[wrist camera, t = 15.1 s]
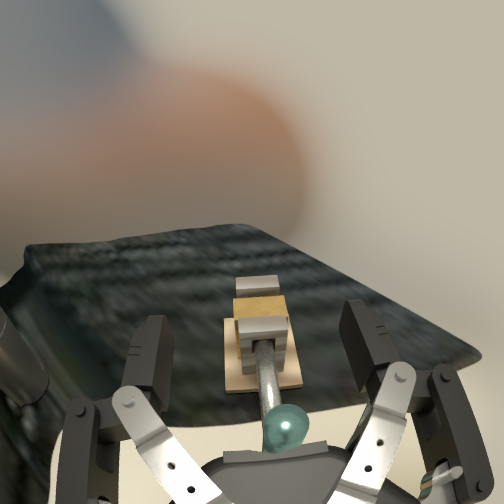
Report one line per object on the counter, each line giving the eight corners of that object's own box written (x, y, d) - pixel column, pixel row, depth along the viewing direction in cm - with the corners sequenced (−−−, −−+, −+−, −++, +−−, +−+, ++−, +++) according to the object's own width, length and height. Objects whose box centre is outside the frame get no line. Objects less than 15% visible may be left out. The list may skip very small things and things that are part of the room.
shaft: (291, 476, 26) (312, 440, 17) (262, 479, 25) (265, 445, 17) (274, 357, 40) (279, 276, 31) (251, 359, 40) (248, 278, 31)
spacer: (283, 356, 43) (288, 316, 38) (237, 359, 43) (234, 320, 38) (280, 336, 47) (283, 295, 41) (236, 339, 46) (233, 298, 41)
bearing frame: (302, 387, 40) (312, 343, 33) (226, 393, 39) (218, 350, 33) (287, 317, 51) (292, 269, 45) (224, 322, 51) (218, 273, 44)
